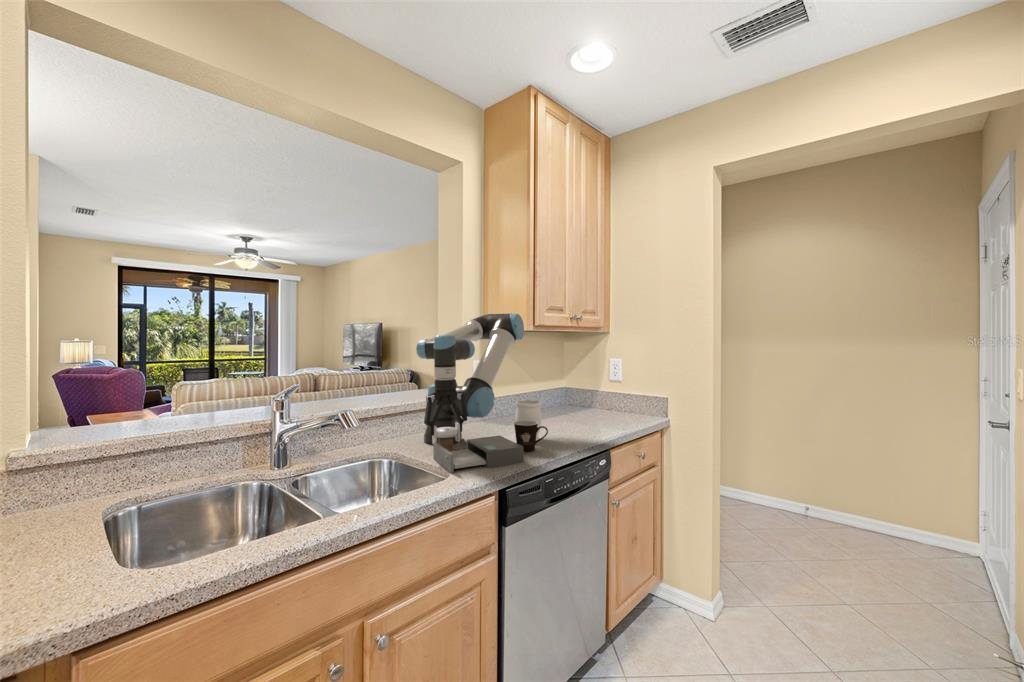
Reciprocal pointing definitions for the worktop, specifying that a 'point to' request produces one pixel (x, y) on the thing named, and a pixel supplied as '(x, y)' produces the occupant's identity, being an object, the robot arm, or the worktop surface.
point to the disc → (447, 432)
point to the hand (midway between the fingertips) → (446, 442)
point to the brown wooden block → (446, 443)
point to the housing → (496, 450)
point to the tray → (456, 458)
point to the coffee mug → (527, 434)
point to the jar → (529, 412)
